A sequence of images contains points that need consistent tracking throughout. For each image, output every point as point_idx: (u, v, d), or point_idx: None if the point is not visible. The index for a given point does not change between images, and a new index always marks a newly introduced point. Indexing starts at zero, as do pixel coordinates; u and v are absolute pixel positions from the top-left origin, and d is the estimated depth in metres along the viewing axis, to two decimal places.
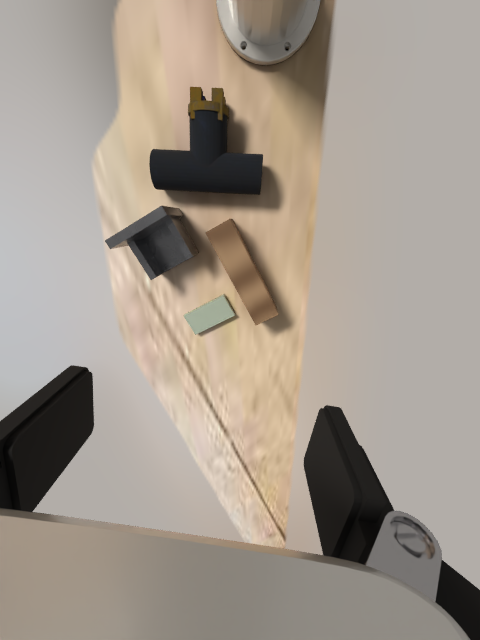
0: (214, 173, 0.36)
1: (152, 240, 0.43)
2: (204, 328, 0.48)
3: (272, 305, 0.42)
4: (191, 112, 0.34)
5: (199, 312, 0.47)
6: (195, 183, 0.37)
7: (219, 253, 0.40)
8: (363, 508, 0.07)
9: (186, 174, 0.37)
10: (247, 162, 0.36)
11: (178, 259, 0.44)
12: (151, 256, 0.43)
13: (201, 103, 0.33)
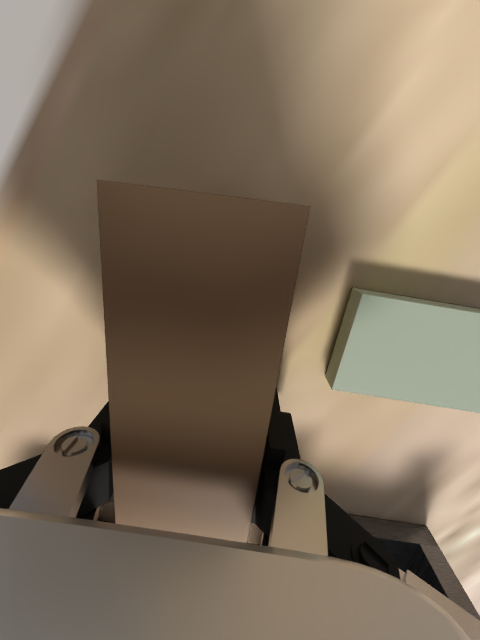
0: None
1: None
2: None
3: (112, 275, 0.06)
4: None
5: (465, 396, 0.11)
6: None
7: None
8: (268, 457, 0.08)
9: None
10: None
11: None
12: None
13: None
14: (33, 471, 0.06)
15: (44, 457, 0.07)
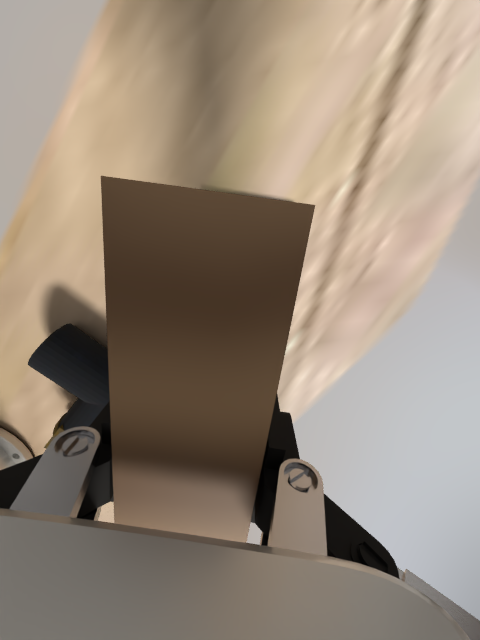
0: (96, 394, 0.25)
1: None
2: None
3: (114, 273, 0.06)
4: None
5: None
6: None
7: None
8: (268, 457, 0.08)
9: None
10: (48, 376, 0.24)
11: None
12: None
13: None
14: (34, 471, 0.06)
15: (45, 457, 0.07)
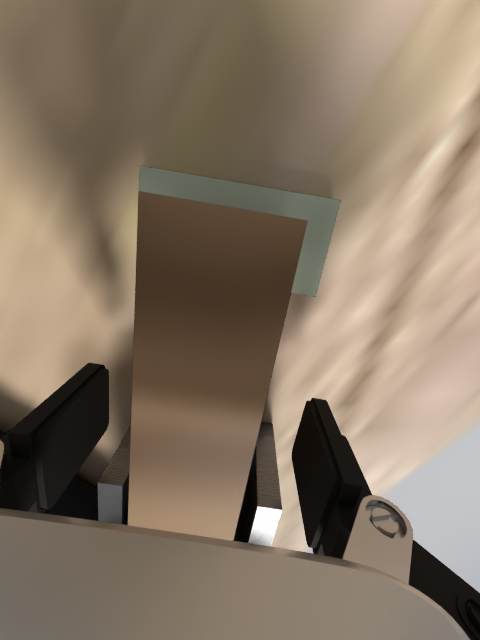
0: None
1: None
2: (288, 200, 0.11)
3: (144, 268, 0.07)
4: None
5: None
6: None
7: None
8: (342, 493, 0.07)
9: None
10: None
11: None
12: (246, 492, 0.15)
13: None
14: None
15: None
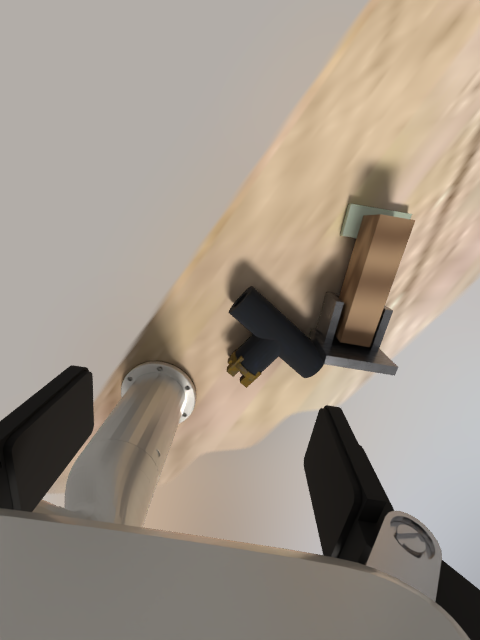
0: (275, 332, 0.37)
1: None
2: (395, 214, 0.35)
3: (376, 231, 0.31)
4: (257, 375, 0.40)
5: None
6: (295, 336, 0.38)
7: (375, 322, 0.35)
8: (363, 508, 0.07)
9: (296, 348, 0.38)
10: (245, 319, 0.37)
11: None
12: None
13: (247, 375, 0.39)
14: None
15: None
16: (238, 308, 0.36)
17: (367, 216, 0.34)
